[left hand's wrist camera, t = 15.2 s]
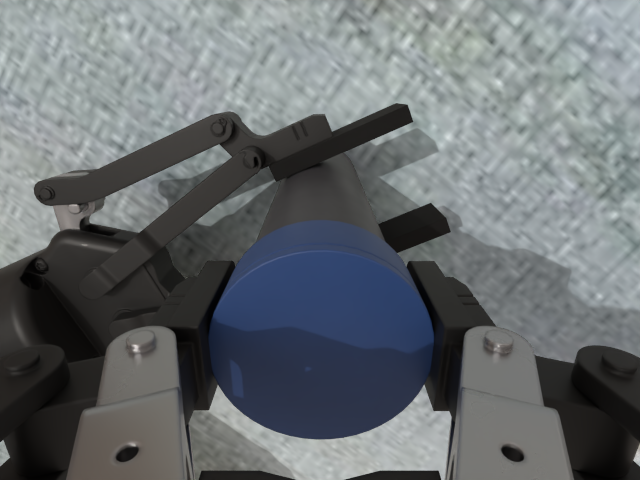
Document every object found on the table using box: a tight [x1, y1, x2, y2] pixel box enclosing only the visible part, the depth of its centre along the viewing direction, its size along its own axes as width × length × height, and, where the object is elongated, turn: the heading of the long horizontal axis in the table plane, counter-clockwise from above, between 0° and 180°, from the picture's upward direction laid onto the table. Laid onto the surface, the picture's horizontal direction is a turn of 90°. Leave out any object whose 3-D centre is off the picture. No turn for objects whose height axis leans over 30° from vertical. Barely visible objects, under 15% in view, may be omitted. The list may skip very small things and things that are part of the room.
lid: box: [208, 220, 434, 439], centre depth 10 cm, size 5×5×2 cm
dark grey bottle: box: [256, 153, 385, 242], centre depth 18 cm, size 5×5×18 cm
